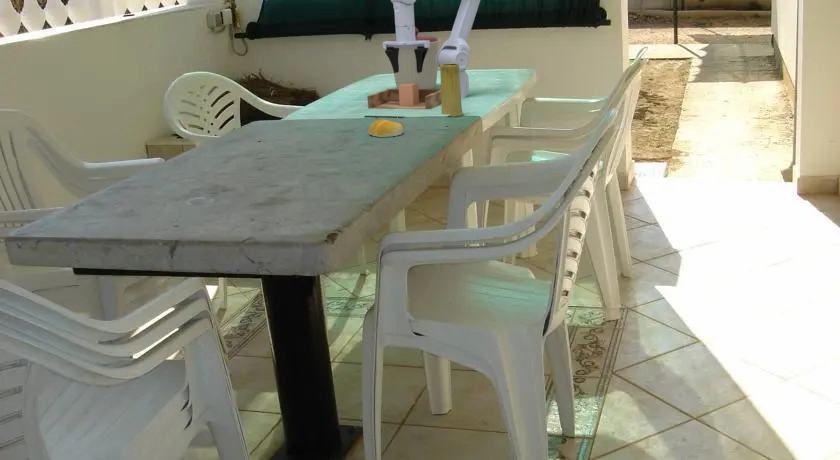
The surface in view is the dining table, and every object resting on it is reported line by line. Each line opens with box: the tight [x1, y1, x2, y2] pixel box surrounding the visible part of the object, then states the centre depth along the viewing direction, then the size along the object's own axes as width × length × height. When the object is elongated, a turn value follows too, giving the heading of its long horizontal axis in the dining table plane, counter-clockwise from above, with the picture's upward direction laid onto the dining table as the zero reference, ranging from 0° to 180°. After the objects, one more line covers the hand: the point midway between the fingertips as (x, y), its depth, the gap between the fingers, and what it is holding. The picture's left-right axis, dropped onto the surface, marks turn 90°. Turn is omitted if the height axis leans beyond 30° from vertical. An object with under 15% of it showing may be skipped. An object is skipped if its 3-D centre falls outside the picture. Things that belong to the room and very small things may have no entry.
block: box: [398, 83, 419, 106], centre depth 267 cm, size 4×4×6 cm
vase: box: [439, 63, 464, 118], centre depth 247 cm, size 6×6×14 cm
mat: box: [364, 115, 405, 119], centre depth 257 cm, size 10×12×1 cm
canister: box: [389, 27, 442, 89], centre depth 298 cm, size 18×18×21 cm
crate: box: [366, 88, 442, 110], centre depth 267 cm, size 14×20×4 cm
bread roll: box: [368, 118, 404, 138], centre depth 227 cm, size 8×9×4 cm
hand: (407, 72), depth 265 cm, fingers open, 7 cm apart
